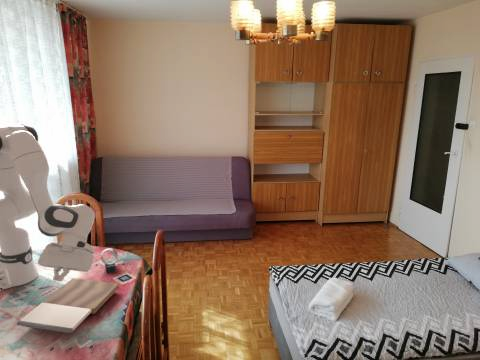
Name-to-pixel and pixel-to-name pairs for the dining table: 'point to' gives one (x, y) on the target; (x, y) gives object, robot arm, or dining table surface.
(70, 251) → the robot arm
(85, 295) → the brown flat block
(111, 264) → the watch
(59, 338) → the dining table surface
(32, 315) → the panel
